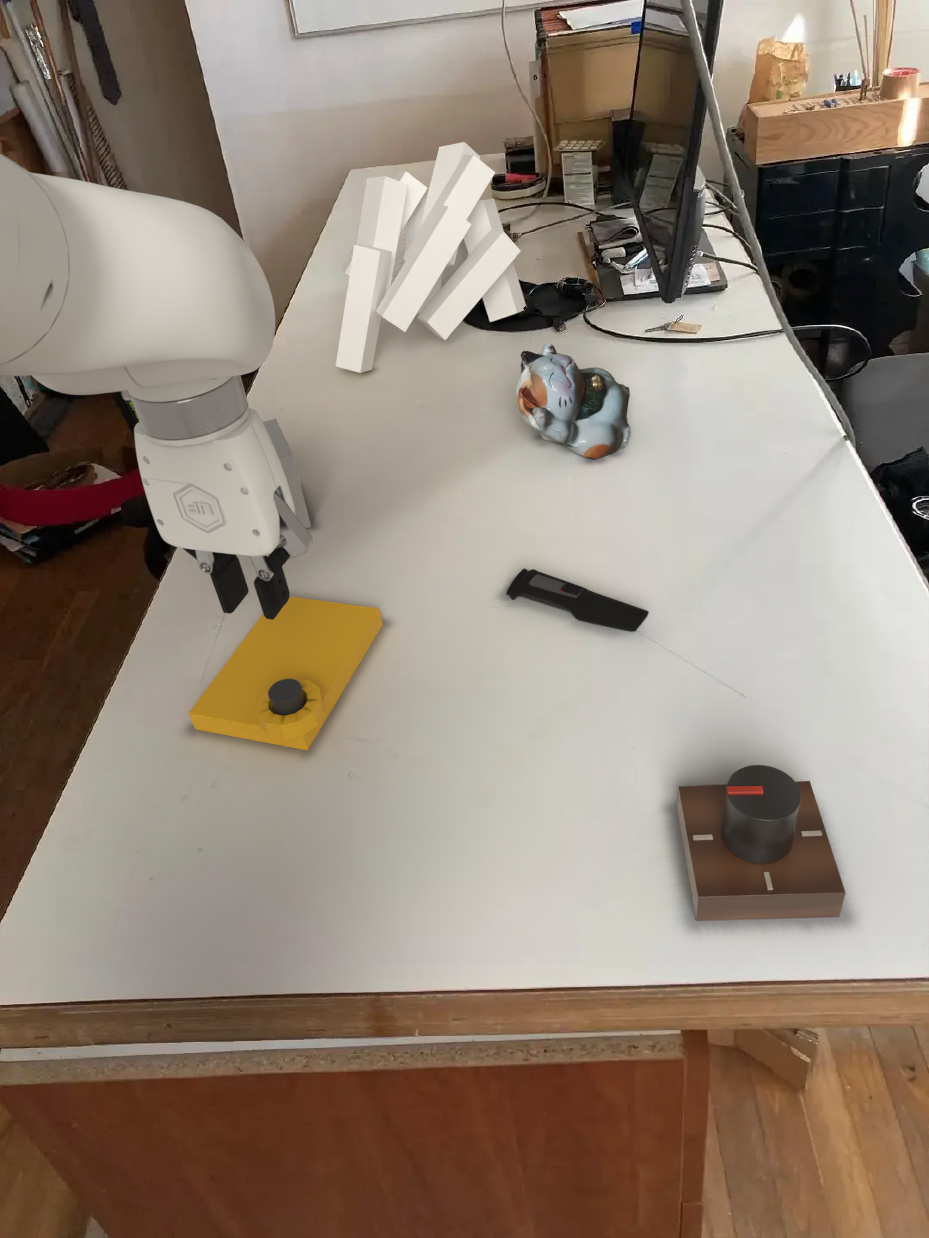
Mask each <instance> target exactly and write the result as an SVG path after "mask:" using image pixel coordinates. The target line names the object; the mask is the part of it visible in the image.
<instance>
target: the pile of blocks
mask: <svg viewBox="0 0 929 1238" xmlns="http://www.w3.org/2000/svg"><path fill="white" fill-rule="evenodd" d="M432 171H433V172H432V175H431V178H430V184H429V187H427V186H426V185H424V184H423V183H422V182H420V180H418V179H417V178H416V177H415V176H413V175H412V174H411V173H409V172H408V171H406V170H398V172H397V174H396V176H395V177H394V178H392V177H390V176H386V175H383V176H375V177H368V178H366V181H365V188H364V194H363V200H362V207H361V212H360V219H359V225H358V232H357V238H356V242H355V244H354V245H353V247H352V249H351V250H350V252H349V254H348V255H347V257H346V259H345V260H344V262H343V264H342V265H341V267H340V271H341V272H343V273H344V274H345V275H346V276H348V283H347V284H348V285H347V290H346V296H345V301H344V302H345V303H344V308H343V315H342V322H341V328H340V336H339V341H338V347H337V354H336V361H335V367H336V368H337V367H338V368H340V369H344V370H348V371H351V372H355V373H358V374H361V373H366V372H368V371H372V370H373V368H374V362H375V361H374V360H375V355H376V350H377V343H378V339H379V332H380V325H381V319H382V318H383V319H385V320H386V321H387V322H389V323H391V324H392V325H394V326H395V327H397V328H398V329H399V330H401V331H402V332H404V333H406V332H407V330H408V328H409V327H410V325H411V324H412V322H413V320H414V319H415V318H417V319H418V320H419V321H420V322H421V323H422V324H423V325H424V326H425V327H426V328H427V329H428V330H430V332H432V334H433V335H435V336H436V337H437V338H440V339H442V340H444V341H446V340H447V339H449V337H450V336H451V334H452V333H453V332H454V331H455V329H457V327H458V326H459V325H460V324H461V322H463V320H464V319H465V318H466V316H468V314H469V313H470V312H471V310H473V308H475V306H476V305H477V304H478V302H479V301H480V300H481V299H482V302H483V304H484V308H485V311H486V314H487V316H488V321H489V323H492V322H495V321H498V320H502V319H504V318H507V317H510V316H513V315H516V314H518V313H521V312H523V311H525V310H524V309H523V308H524V307H525V306H526V307H527V304H526V301H525V297H524V293H523V291H522V287H521V284H520V280H519V277H518V275H517V271H516V268H515V264H514V260H515V259H516V257H517V256H518V255H519V254H520V253H521V252H522V250H521V249H520V248H519V247H518V246H517V245H516V244H515V243H514V242H513V241H512V239H511V238H510V237H509V236H508V235H507V233H506V232H505V231H504V227H503V224H502V221H501V217H500V214H499V211H498V208H497V205H496V201H495V198H487V199H481V197H482V195H483V193H484V192H485V190H486V189H487V187H488V185H489V184H490V182H491V181H492V179H493V177H494V175H495V174H496V171H494V170H493V169H492V168H491V167H489V166H488V164H486V163H484V162H483V161H482V160H481V156H480V155H479V154H478V153H477V152H476V151H475V150H474V149H473V148H472V147H471V146H469V144H468V143H466V141H462V142H457V143H452V144H447V145H442V146H439V147H438V150H437V153H436V159H435V163H434V167H433V170H432ZM427 190H428V192H427ZM426 192H427V196H424V195H425V193H426ZM423 196H424V197H423ZM404 227H406V234H405V243H404V244H405V245H404V253H403V256H402V257H401V260H402V261H403V263H402V267H401V269H399V272H398V273H397V275H396V277H394V278H395V279H394V280H393V282H392V279H393V273H394V267H395V262H396V255H397V250H398V244H399V238H400V234H401V232H402V231H403V229H404Z"/></svg>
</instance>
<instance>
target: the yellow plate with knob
mask: <svg viewBox="0 0 929 1238" xmlns="http://www.w3.org/2000/svg"><path fill="white" fill-rule="evenodd" d="M382 617H383V616H382V613H381V609H380V608H379V607H372V606H366V605H365V606H364V605H356V604H349V603H348V604H347V603H342V602H336V601H335V602H334V601H328V600H320V599H319V600H318V599H313V598H305V597H296V596H289V600H288V601H287V603H286V604H285V605H284V606H283V608H282V609H281V610H280V612H279V613H278V614H277V616H276V617H275V619H273V620H271V619H266V617H264V614H263V613H262V614H261V616H260V617H259V619H258V620H257V621H256V622H255V623H254V625H253V626H252V627H251V629H250V630H249V632H248V633H247V635H246V636H245V637H244V638H243V640H242V641H241V642H240V644H239V645H237V648H236V649H235V650H234V651H233V653H232V654H231V656H229V659H228V660H227V661H226V662H225V663H224V665H223V666H222V668H221V669H220V670H219V671H218V673H217V674H216V676H215V677H214V678H213V680H211V682H210V683H209V685H208V686H207V688H206V689H205V690H204V691H203V693H202V695H201V696H199V698H198V700H197V701H196V702H195V704H194V705H193V706H192V708H191V709H190V710H189V712H188V717H189V718H190V721H191V723H192V726H193V728H194V729H195V730H198V731H202V732H207V733H213V734H219V735H223V736H228V737H234V738H239V739H244V740H249V741H254V742H260V743H265V744H271V745H276V746H280V747H281V746H282V747H287V748H292V749H297V750H303V751H309V749H310V747H311V746H312V744H313V742H314V741H315V739H316V737H317V736H318V734H319V733H320V731H321V729H322V727H323V726H324V724H325V722H326V721H327V719H328V717H329V716H330V714H331V712H332V711H333V710H334V707H335V706H336V704H337V702H338V701H339V699H340V698H341V696H342V694H343V692H344V691H345V689H346V687H347V685H348V684H349V683H350V681H351V679H352V677H353V675H354V674H355V672H356V671H357V669H358V668H359V665H360V664H361V662H362V661H363V659H364V657H365V656H366V654H367V652H368V650H369V649H370V647H371V646H372V644H373V642H374V640H375V639H376V637H377V635H378V634H379V632H380V630H381V629H382V627H383V625H384V621H383V618H382ZM283 679H294V680H297V681H298V682H299V683H300V684H301V687H302V690H303V693H304V697H305V705H304V707H303V708H302V709H301V710H299V711H297V712H296V713H294V714H290V715H285V716H282V715H278V714H276V713H275V712H274V711H273V708H272V705H271V702H270V699H269V696H268V691H269V689H270V687H271V686H272V685H273V684H274V683H276V682H278V681H280V680H283Z"/></svg>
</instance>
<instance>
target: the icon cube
mask: <svg viewBox="0 0 929 1238" xmlns="http://www.w3.org/2000/svg"><path fill="white" fill-rule="evenodd" d="M262 422H263V424H264V426H265V428H266V430H267V432H268V434H269V436H270V438H271V441H272V443H273V445H274V447H275V450H276V452H277V455H278V457H279V460H280V462H281V465H282V468H283V471H284V473H285V476H286V479H287V482H288V485H289V489H290V492H291V495H292V499H293V503H294V508H295V513H296V517H297V518H298V520H299V521H300V522H301V523H302V525H303V526H304V527H305V528H306V529H309V528H311V527H312V525H311V523H312V522H311V520H310V516H309V512H308V508H307V504H306V500H305V497H304V493H303V489H302V484H301V481H300V478H299V477H300V476H299V473H298V470H297V465H296V461H295V457H294V454H293V452H292V450H291V447H290V445H289V443H288V441H287V440H286V437H285V434H284V433H283V431H282V429H281V428H282V427H280V424H279V422H278V420H277V418H273V419H272V418H271V419H269V420H265V421H262ZM280 536H282V534H281V533H280Z"/></svg>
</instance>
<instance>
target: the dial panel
mask: <svg viewBox="0 0 929 1238" xmlns="http://www.w3.org/2000/svg"><path fill="white" fill-rule="evenodd" d="M794 781H795V780H794ZM795 782H796V784H797V786H798V788H799V790H800V794H801V801H800V806H799V812H798V817H797V822H796V828H795V833H794V838H793V843H792V847H791V850H790V851H789V853H788V854H787V855H786V856H785V857H784V858H782V859H780V860H779V861H776V862H773V863H768V864H757V863H751V862H748V861H745V860H743V859H741V858H739V857H737V856H736V855H735V854H733V853H732V852H731V851H730V850H729V849H728V847H727V846H726V844H725V843H724V840H723V837H722V823H723V814H724V805H725V796H726V786H727V783H726V784H703V785H701V784H700V785H679V786H678V788H677V803H676V813H677V818H678V825H679V830H680V836H681V842H682V848H683V853H684V859H685V864H686V871H687V877H688V882H689V883H688V884H689V888H690V894H691V899H692V900H691V901H692V906H693V911H694V917H695V918H694V919H695V921H696V922H708V921H709V922H710V921H711V922H713V921H743V920H748V921H749V920H776V919H777V920H781V919H785V920H786V919H818V918H819V919H821V918H840V917H841V916H840V915H841V912H842V909H843V905H844V900H845V897H846V890H845V886H844V884H843V881H842V877H841V874H840V871H839V867H838V865H837V862H836V858H835V856H834V851H833V850H832V845H831V842H830V839H829V837H828V833H827V830H826V828H825V824H824V821H823V818H822V814H821V812H820V808H819V805H818V802H817V798H816V795H815V793H814V790H813V786H812V784H811V781H810V780H798V781H797V780H796V781H795Z"/></svg>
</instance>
